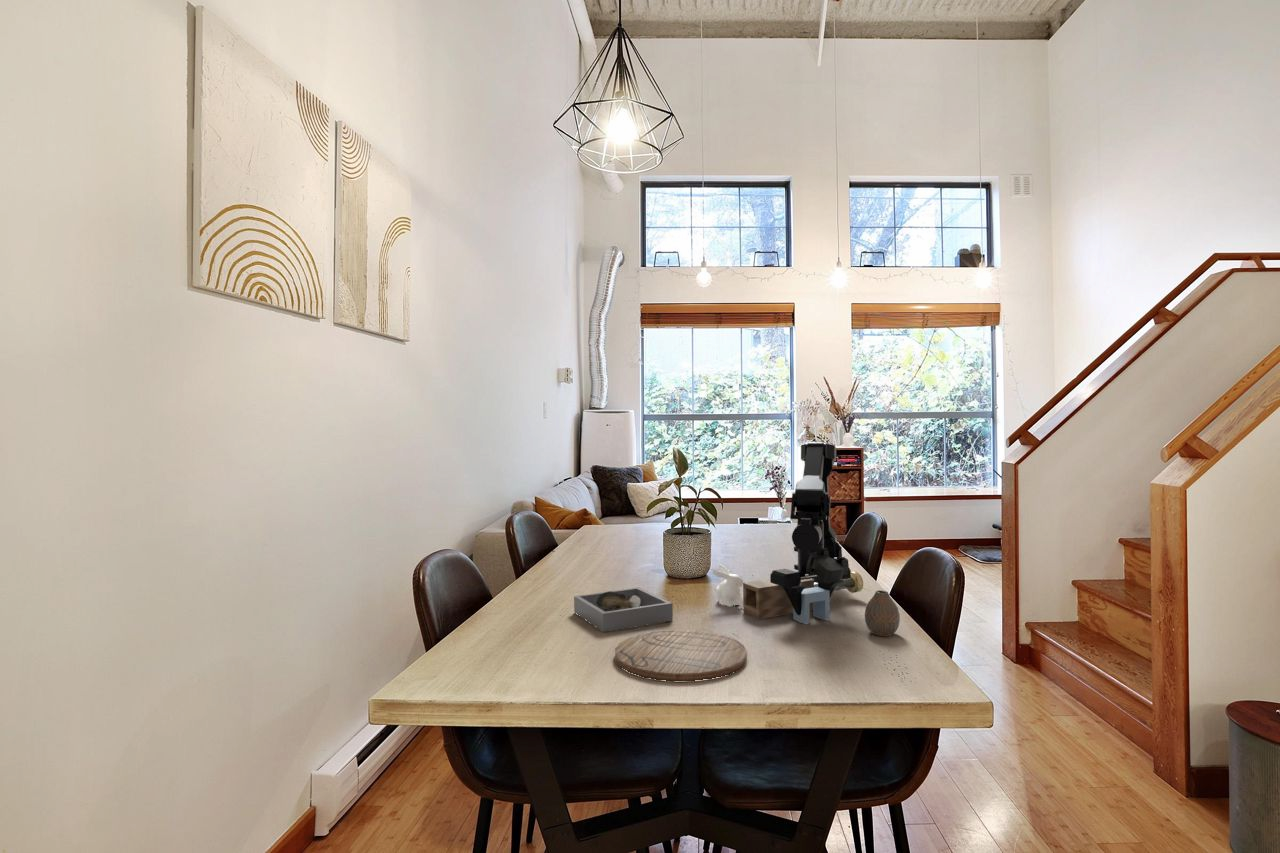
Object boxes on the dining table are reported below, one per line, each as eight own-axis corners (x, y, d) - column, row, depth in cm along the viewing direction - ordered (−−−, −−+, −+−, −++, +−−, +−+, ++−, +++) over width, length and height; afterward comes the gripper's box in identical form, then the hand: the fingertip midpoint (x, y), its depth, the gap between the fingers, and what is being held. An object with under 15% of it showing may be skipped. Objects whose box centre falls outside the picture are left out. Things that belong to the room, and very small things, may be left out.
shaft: (799, 604, 162) (799, 583, 162) (785, 600, 167) (785, 579, 167) (863, 594, 171) (863, 573, 171) (848, 589, 176) (848, 570, 176)
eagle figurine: (614, 606, 165) (588, 608, 158) (629, 583, 163) (604, 583, 156) (633, 629, 160) (608, 631, 153) (649, 605, 159) (624, 606, 152)
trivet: (730, 691, 116) (730, 680, 116) (593, 675, 125) (593, 664, 125) (758, 645, 140) (758, 636, 140) (641, 633, 148) (641, 625, 148)
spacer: (793, 619, 156) (793, 590, 156) (817, 615, 159) (817, 586, 159) (805, 624, 152) (804, 594, 152) (829, 619, 155) (829, 590, 155)
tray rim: (574, 613, 164) (574, 596, 164) (638, 603, 171) (638, 587, 171) (603, 632, 148) (603, 613, 148) (672, 620, 156) (672, 603, 156)
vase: (894, 628, 148) (894, 587, 148) (904, 639, 141) (903, 596, 141) (861, 628, 149) (861, 587, 149) (869, 638, 142) (868, 595, 142)
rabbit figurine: (748, 610, 164) (747, 569, 164) (717, 611, 163) (716, 570, 163) (736, 597, 176) (735, 559, 176) (706, 599, 175) (705, 560, 175)
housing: (759, 619, 156) (758, 588, 156) (743, 612, 162) (743, 582, 162) (814, 609, 164) (814, 579, 164) (797, 603, 169) (797, 574, 169)
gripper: (801, 553, 144) (802, 628, 144) (868, 544, 152) (869, 615, 153) (768, 544, 154) (769, 615, 154) (833, 537, 162) (833, 603, 163)
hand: (811, 612), depth 156 cm, fingers closed on spacer, 7 cm apart
